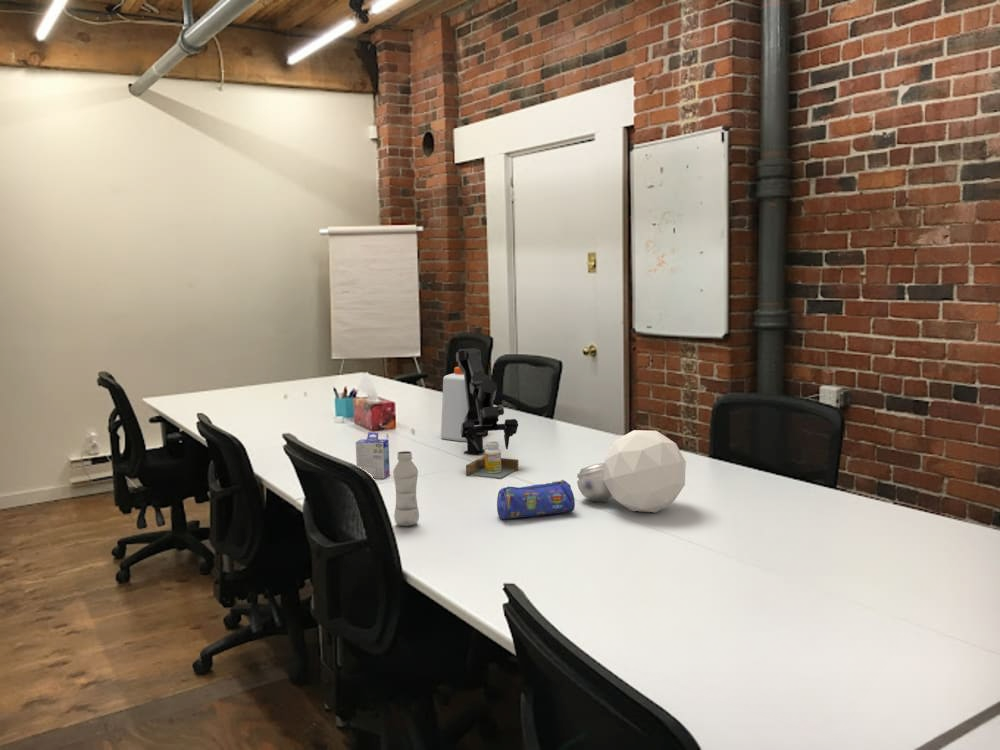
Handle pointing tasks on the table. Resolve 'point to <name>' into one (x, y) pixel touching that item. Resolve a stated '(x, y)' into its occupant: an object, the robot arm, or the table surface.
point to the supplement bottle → (492, 458)
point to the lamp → (637, 472)
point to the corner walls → (480, 464)
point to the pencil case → (535, 500)
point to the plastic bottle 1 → (405, 490)
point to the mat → (499, 475)
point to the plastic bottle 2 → (453, 406)
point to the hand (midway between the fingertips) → (493, 449)
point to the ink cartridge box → (373, 456)
